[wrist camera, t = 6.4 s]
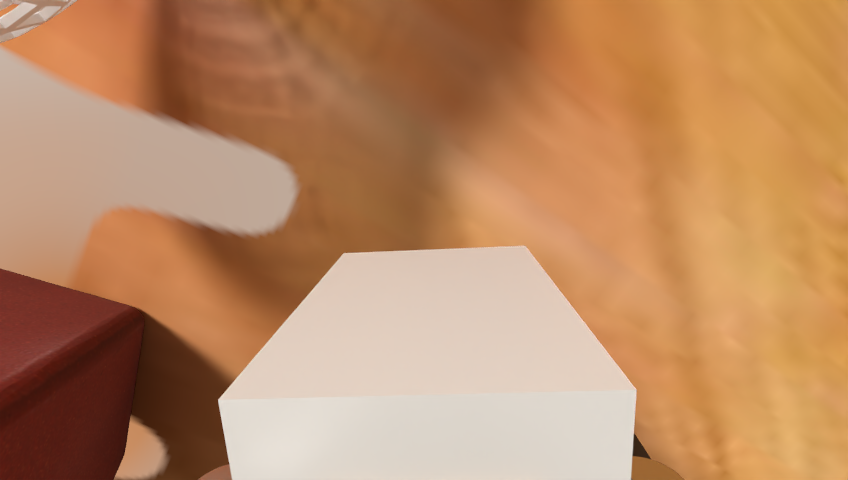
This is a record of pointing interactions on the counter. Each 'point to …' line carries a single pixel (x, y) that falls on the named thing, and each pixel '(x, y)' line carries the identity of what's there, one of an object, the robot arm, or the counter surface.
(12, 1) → the heart
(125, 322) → the plant pot
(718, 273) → the counter surface
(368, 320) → the block
